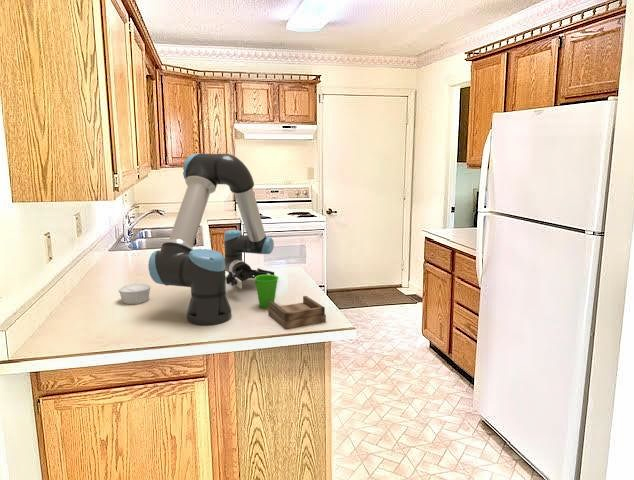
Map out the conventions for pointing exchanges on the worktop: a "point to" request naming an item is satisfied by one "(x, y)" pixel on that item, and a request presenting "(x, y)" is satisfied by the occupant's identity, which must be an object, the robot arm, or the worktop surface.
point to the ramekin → (135, 293)
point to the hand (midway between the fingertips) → (257, 282)
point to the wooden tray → (297, 313)
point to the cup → (266, 289)
